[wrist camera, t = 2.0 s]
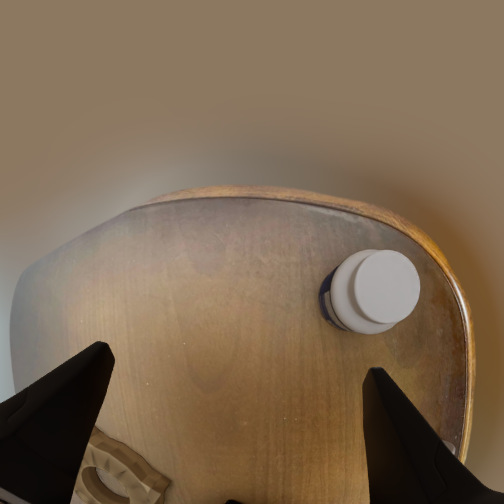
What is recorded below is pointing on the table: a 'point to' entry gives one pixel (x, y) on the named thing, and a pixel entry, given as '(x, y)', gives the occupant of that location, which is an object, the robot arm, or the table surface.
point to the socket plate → (117, 474)
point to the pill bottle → (369, 292)
